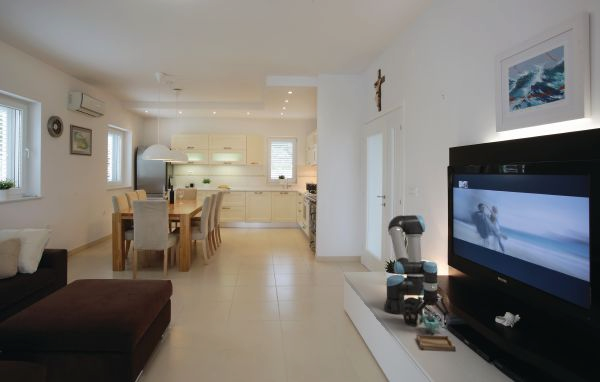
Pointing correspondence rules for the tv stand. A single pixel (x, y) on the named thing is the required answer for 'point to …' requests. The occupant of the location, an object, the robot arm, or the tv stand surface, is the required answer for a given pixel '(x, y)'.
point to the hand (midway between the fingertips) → (430, 325)
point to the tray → (435, 343)
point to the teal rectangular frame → (431, 325)
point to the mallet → (430, 319)
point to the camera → (408, 313)
